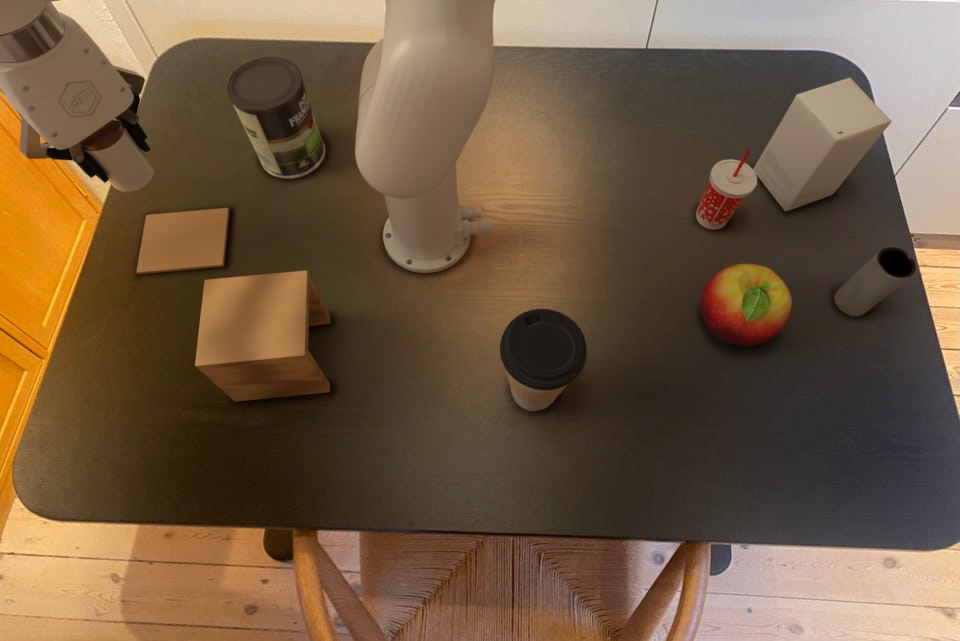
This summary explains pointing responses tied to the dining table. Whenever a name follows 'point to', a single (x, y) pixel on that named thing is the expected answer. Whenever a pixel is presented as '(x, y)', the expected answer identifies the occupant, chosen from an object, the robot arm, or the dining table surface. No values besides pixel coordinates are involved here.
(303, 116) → the coffee can
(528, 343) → the coffee cup
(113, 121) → the bean jar
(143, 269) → the mat
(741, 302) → the fruit
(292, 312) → the brown piece
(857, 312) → the grey hollow cylinder
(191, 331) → the dining table surface
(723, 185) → the beverage cup
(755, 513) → the dining table surface
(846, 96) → the white product box
